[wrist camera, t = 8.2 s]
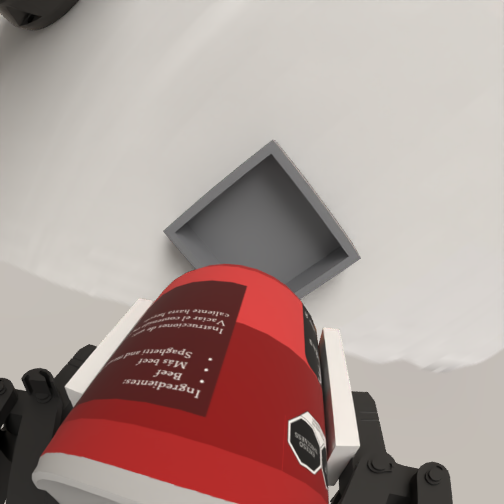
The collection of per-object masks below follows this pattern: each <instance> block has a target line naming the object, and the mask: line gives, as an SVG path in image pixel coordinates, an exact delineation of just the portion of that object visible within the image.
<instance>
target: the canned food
mask: <svg viewBox="0 0 504 504" xmlns="http://www.w3.org/2000/svg"><path fill="white" fill-rule="evenodd" d="M32 481H33V483H34V484H35V486H36V487H37V488H38V489H41V490H45V491H47V492H48V493H49V494H50V495H51V496H53V497H54V498H55V499H56V500H57V501H58V502H59V503H60V504H329V501H328V470H327V450H326V433H325V418H324V405H323V392H322V381H321V370H320V359H319V349H318V340H317V332H316V328H315V325H314V323H313V320H312V318H311V315H310V314H309V312H308V311H307V309H306V308H305V306H304V305H303V303H302V302H301V301H300V299H299V298H298V297H297V296H296V295H295V294H294V293H293V292H292V291H291V290H290V289H289V288H288V287H287V286H286V285H285V284H283V283H282V282H280V281H279V280H278V279H276V278H275V277H273V276H271V275H269V274H267V273H265V272H262V271H260V270H258V269H255V268H251V267H247V266H243V265H235V264H217V265H209V266H206V267H203V268H199V269H196V270H193V271H190V272H187V273H185V274H184V275H182V276H180V277H179V278H177V279H175V280H174V281H173V282H172V283H171V284H170V285H169V286H168V287H167V288H166V289H165V290H164V291H163V292H162V293H161V294H160V296H159V297H158V298H157V299H156V301H155V302H154V303H153V304H152V306H151V307H150V308H149V309H148V311H147V312H146V313H145V314H144V316H143V317H142V318H141V319H140V321H139V322H138V323H137V324H136V326H135V327H134V328H133V329H132V331H131V332H130V333H129V335H128V336H127V337H126V338H125V340H124V341H123V342H122V343H121V345H120V346H119V347H118V349H117V350H116V351H115V353H114V354H113V355H112V356H111V358H110V359H109V360H108V362H107V363H106V364H105V366H104V367H103V368H102V370H101V371H100V372H99V374H98V375H97V376H96V377H95V379H94V380H93V381H92V383H91V384H90V386H89V387H88V388H87V390H86V391H85V392H84V394H83V395H82V396H81V398H80V399H79V400H78V402H77V403H76V405H75V406H74V407H73V409H72V410H71V411H70V413H69V414H68V416H67V417H66V418H65V420H64V421H63V423H62V424H61V425H60V427H59V428H58V430H57V432H56V433H55V435H54V437H53V438H52V440H51V441H50V443H49V444H48V446H47V447H46V449H45V450H44V452H43V453H42V455H41V456H40V458H39V462H38V466H37V467H36V469H35V470H34V472H33V473H32Z"/></svg>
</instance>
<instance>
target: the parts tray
mask: <svg viewBox="0 0 504 504" xmlns="http://www.w3.org/2000/svg"><path fill="white" fill-rule="evenodd" d="M163 232H164V233H165V234H166V235H167V236H168V238H169V239H170V240H171V241H172V242H173V244H174V245H175V246H176V247H177V248H178V249H179V251H180V252H181V253H182V254H183V255H184V256H185V258H186V259H187V260H188V261H189V262H190V263H191V265H192V266H193V267H194V268H195V269H199V268H203V267H206V266H209V265H217V264H235V265H243V266H247V267H251V268H255V269H258V270H260V271H262V272H265V273H267V274H269V275H271V276H273V277H275V278H276V279H278V280H279V281H280V282H282V283H283V284H285V285H286V286H287V287H288V288H289V289H290V290H291V291H292V292H293V293H294V294H295V295H296V296H297V297H298V298H299V299H301V298H302V297H304V296H305V295H307V294H309V293H310V292H312V291H313V290H315V289H316V288H318V287H319V286H321V285H322V284H324V283H325V282H327V281H328V280H330V279H331V278H333V277H334V276H336V275H337V274H339V273H340V272H342V271H343V270H345V269H346V268H348V267H349V266H350V265H352V264H353V263H355V262H356V261H358V260H359V259H361V258H360V256H359V254H358V252H357V250H356V249H355V247H354V245H353V243H352V242H351V240H350V239H349V238H348V236H347V235H346V233H345V232H344V230H343V229H342V228H341V226H340V225H339V223H338V222H337V221H336V219H335V218H334V216H333V215H332V214H331V212H330V211H329V209H328V208H327V207H326V205H325V204H324V203H323V201H322V200H321V199H320V197H319V196H318V195H317V193H316V192H315V191H314V189H313V188H312V187H311V185H310V184H309V183H308V181H307V180H306V179H305V177H304V176H303V175H302V173H301V172H300V171H299V170H298V168H297V167H296V166H295V164H294V163H293V162H292V161H291V159H290V158H289V157H288V156H287V154H286V153H285V152H284V151H283V149H282V148H281V147H280V146H279V144H278V143H277V142H276V141H275V140H272V141H271V142H269V143H268V144H267V145H265V146H264V147H263V148H262V149H260V150H259V151H258V152H257V153H255V154H254V155H253V156H251V157H250V158H249V159H248V160H246V161H245V162H244V163H243V164H241V165H240V166H239V167H238V168H236V169H235V170H234V171H233V172H232V173H230V174H229V175H228V176H227V177H225V178H224V179H223V180H222V181H221V182H219V183H218V184H217V185H216V186H215V187H213V188H212V189H211V190H210V191H209V192H207V193H206V194H205V195H204V196H203V197H202V198H200V199H199V200H198V201H197V202H196V203H195V204H193V205H192V206H191V207H190V208H189V209H188V210H187V211H185V212H184V213H183V214H182V215H181V216H180V217H179V218H177V219H176V220H175V221H174V222H173V223H172V224H171V225H170V226H168V227H167V228H166V229H165V230H164V231H163Z"/></svg>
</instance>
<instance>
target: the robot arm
mask: <svg viewBox="0 0 504 504" xmlns="http://www.w3.org/2000/svg"><path fill="white" fill-rule="evenodd" d="M77 1H78V0H0V14H1V15H3V16H4V17H5V18H6V19H7V20H8V21H9V22H11V23H12V24H13V25H14V26H16V27H19V28H23V29H27V30H38V29H41V28H44V27H46V26H48V25H50V24H51V23H53V22H55V21H56V20H57V19H59V18H60V17H61V16H63V15H64V14H65V13H66V12H67V11H68V10H69V9H70V8H71V7H72V6H73V5H74V4H75V3H76V2H77ZM153 303H154V301H151V300H146V299H141V298H139V299H138V300H137V302H136V303H135V304H134V305H133V306H132V307H131V308H130V310H129V311H128V312H127V313H126V314H125V315H124V316H123V318H122V319H121V320H120V321H119V322H118V323H117V324H116V326H115V327H114V328H113V329H112V330H111V331H110V333H109V334H108V335H107V336H106V337H105V338H104V340H103V341H102V342H101V343H100V345H98V347H96V346H93V345H90V344H89V345H87V346H85V347H83V348H81V349H80V350H79V351H78V352H77V353H76V354H75V355H74V357H73V359H71V360H70V361H69V362H68V364H67V365H66V366H65V367H64V368H63V369H62V370H61V371H60V372H59V374H58V375H57V376H56V377H55V378H53V376H52V374H51V373H50V372H49V371H48V370H46V369H42V368H37V369H32V370H29V371H28V372H27V373H25V374H24V375H23V377H22V381H23V384H24V386H25V388H26V391H23V390H17V389H15V388H14V386H13V384H12V383H11V381H10V380H8V379H5V378H0V504H4V503H5V500H6V504H60V503H59V502H58V501H57V500H56V499H55V498H54V497H53V496H51V495H50V494H49V493H48V492H47V491H45V490H41V489H38V488H37V487H36V486H35V484H34V483H33V481H32V473H33V472H34V470H35V469H36V467H37V466H38V462H39V458H40V456H41V455H42V453H43V452H44V450H45V449H46V447H47V446H48V444H49V443H50V441H51V440H52V438H53V437H54V435H55V433H56V432H57V430H58V428H59V427H60V425H61V424H62V423H63V421H64V420H65V418H66V417H67V416H68V414H69V413H70V411H71V410H72V409H73V407H74V406H75V405H76V403H77V402H78V400H79V399H80V398H81V396H82V395H83V394H84V392H85V391H86V390H87V388H88V387H89V386H90V384H91V383H92V381H93V380H94V379H95V377H96V376H97V375H98V374H99V372H100V371H101V370H102V368H103V367H104V366H105V364H106V363H107V362H108V360H109V359H110V358H111V356H112V355H113V354H114V353H115V351H116V350H117V349H118V347H119V346H120V345H121V343H122V342H123V341H124V340H125V338H126V337H127V336H128V335H129V333H130V332H131V331H132V329H133V328H134V327H135V326H136V324H137V323H138V322H139V321H140V319H141V318H142V317H143V316H144V314H145V313H146V312H147V311H148V309H149V308H150V307H151V306H152V304H153ZM318 349H319V359H320V370H321V381H322V392H323V405H324V418H325V433H326V450H327V470H328V486H334V485H335V484H336V482H337V481H338V479H339V490H338V492H337V493H336V494H335V496H334V497H333V498H332V499H331V501H330V502H331V504H453V502H452V492H451V482H450V476H449V473H448V470H447V469H446V468H445V467H444V466H443V465H441V464H439V463H436V462H429V463H425V464H424V465H422V466H421V467H420V468H419V469H417V468H412V467H407V466H403V465H400V464H397V463H396V462H395V460H394V459H393V458H392V457H391V456H390V455H389V454H387V452H386V449H385V445H384V440H383V436H382V431H381V427H380V422H379V417H378V413H377V409H376V405H375V401H374V400H373V399H372V397H371V396H370V395H369V393H368V392H353V391H351V387H350V382H349V376H348V371H347V366H346V360H345V355H344V350H343V345H342V340H341V335H340V331H339V329H332V328H323V330H322V334H321V338H320V342H319V345H318ZM3 424H4V427H3V428H2V429H1V427H2V425H3Z"/></svg>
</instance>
